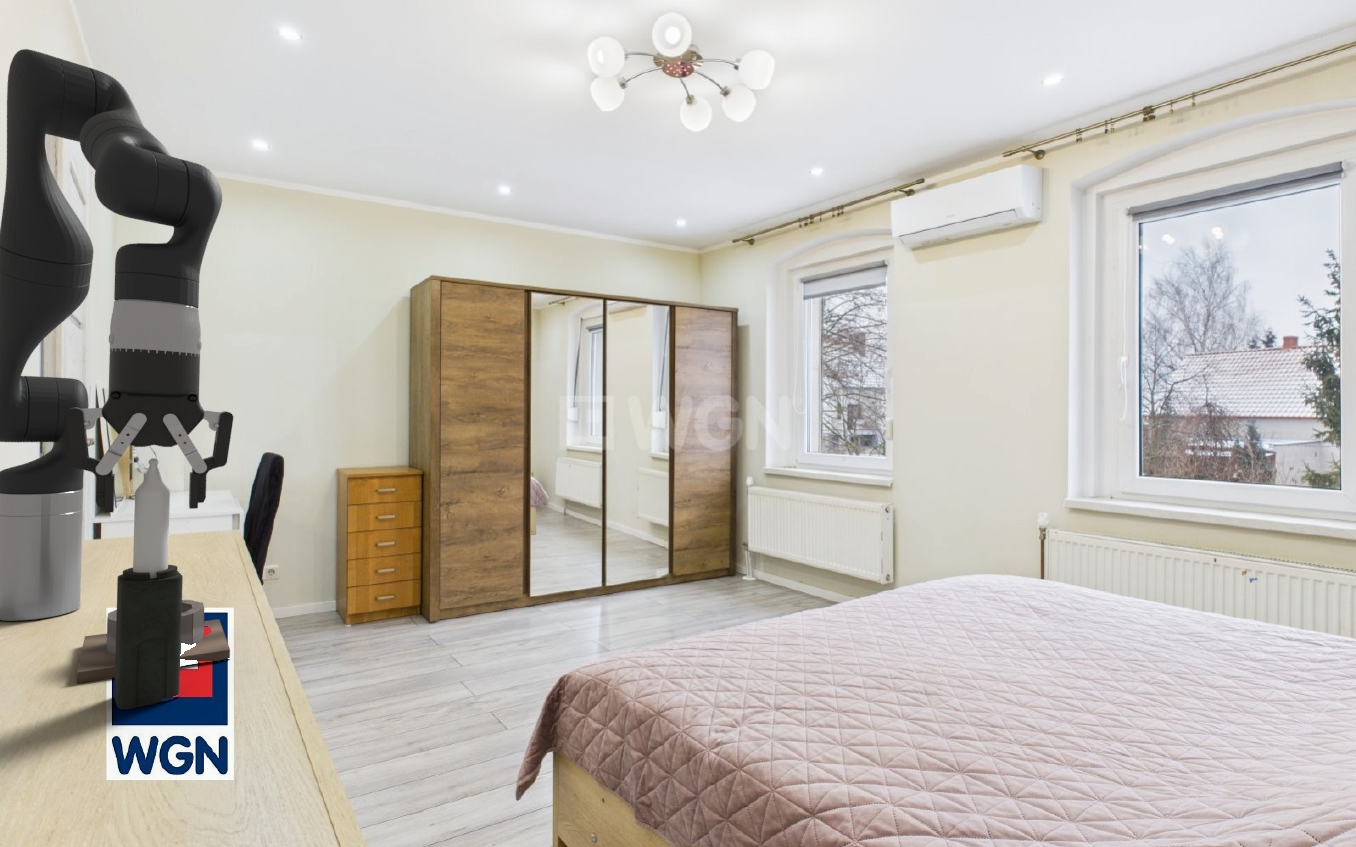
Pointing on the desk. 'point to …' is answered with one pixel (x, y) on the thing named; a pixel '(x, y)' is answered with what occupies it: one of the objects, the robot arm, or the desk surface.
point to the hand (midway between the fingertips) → (152, 509)
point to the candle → (149, 605)
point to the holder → (212, 647)
